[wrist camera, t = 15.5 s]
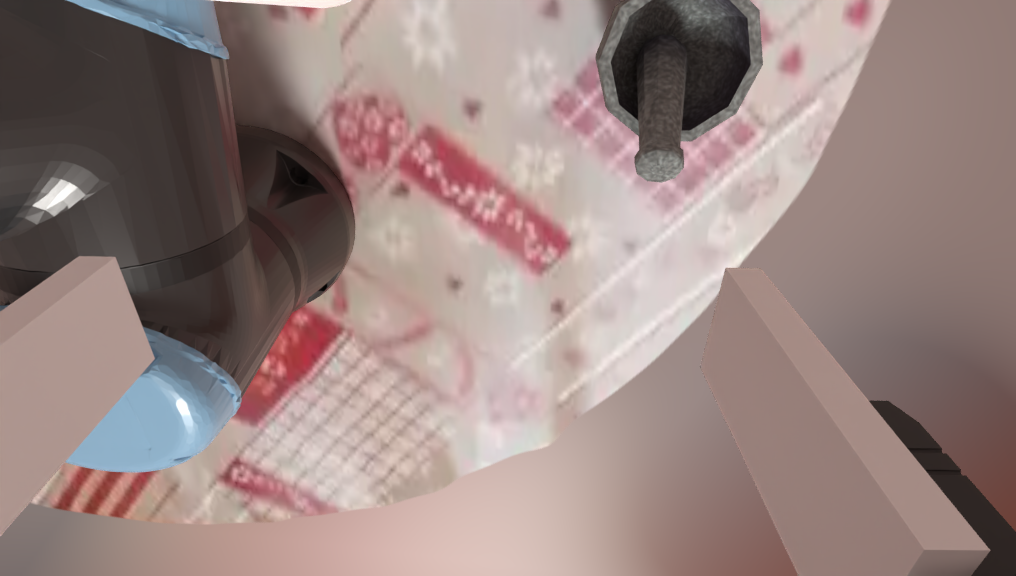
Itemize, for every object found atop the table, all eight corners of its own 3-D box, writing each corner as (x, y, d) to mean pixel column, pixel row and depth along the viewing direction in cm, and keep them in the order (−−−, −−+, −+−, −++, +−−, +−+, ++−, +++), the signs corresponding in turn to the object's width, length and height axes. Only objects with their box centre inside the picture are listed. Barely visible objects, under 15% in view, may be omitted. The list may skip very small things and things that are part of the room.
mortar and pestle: (623, -57, 36) (671, -62, 25) (749, -4, 37) (842, 12, 27) (559, 111, 41) (577, 163, 31) (671, 151, 43) (724, 213, 32)
